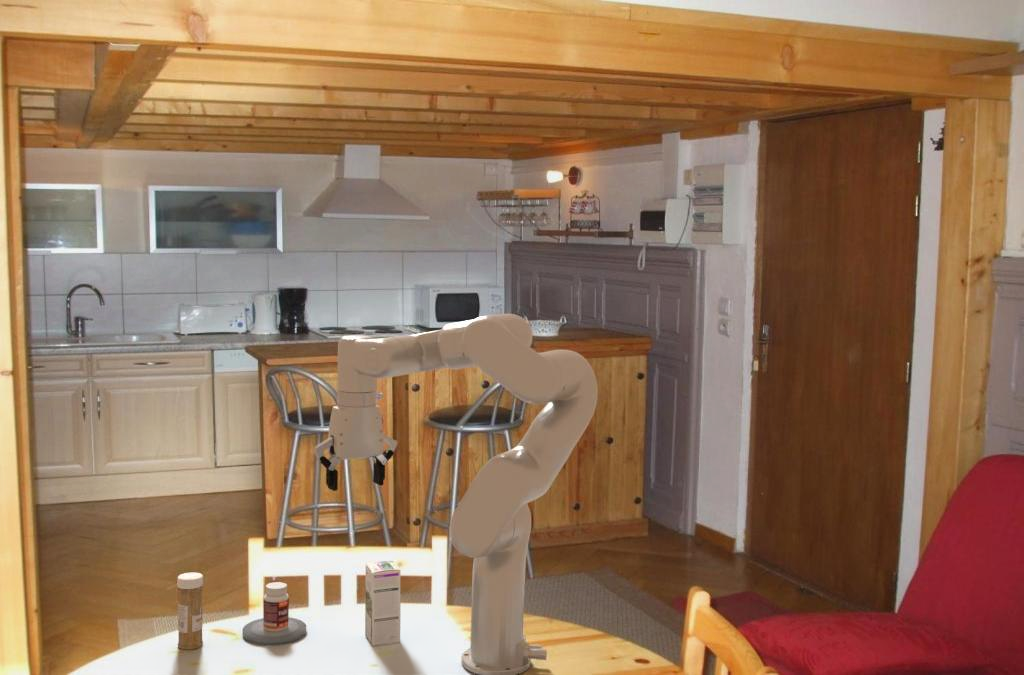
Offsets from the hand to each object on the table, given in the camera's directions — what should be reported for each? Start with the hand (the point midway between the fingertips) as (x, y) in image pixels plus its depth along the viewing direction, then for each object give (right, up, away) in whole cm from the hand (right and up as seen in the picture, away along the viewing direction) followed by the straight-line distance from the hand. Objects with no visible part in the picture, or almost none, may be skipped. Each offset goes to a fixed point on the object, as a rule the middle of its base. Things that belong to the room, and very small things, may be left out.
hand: (355, 486), depth 201 cm
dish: (-15, -28, -2) cm, 32 cm away
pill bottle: (-15, -27, -2) cm, 31 cm away
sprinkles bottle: (-29, -29, -9) cm, 42 cm away
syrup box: (+6, -29, -3) cm, 30 cm away
